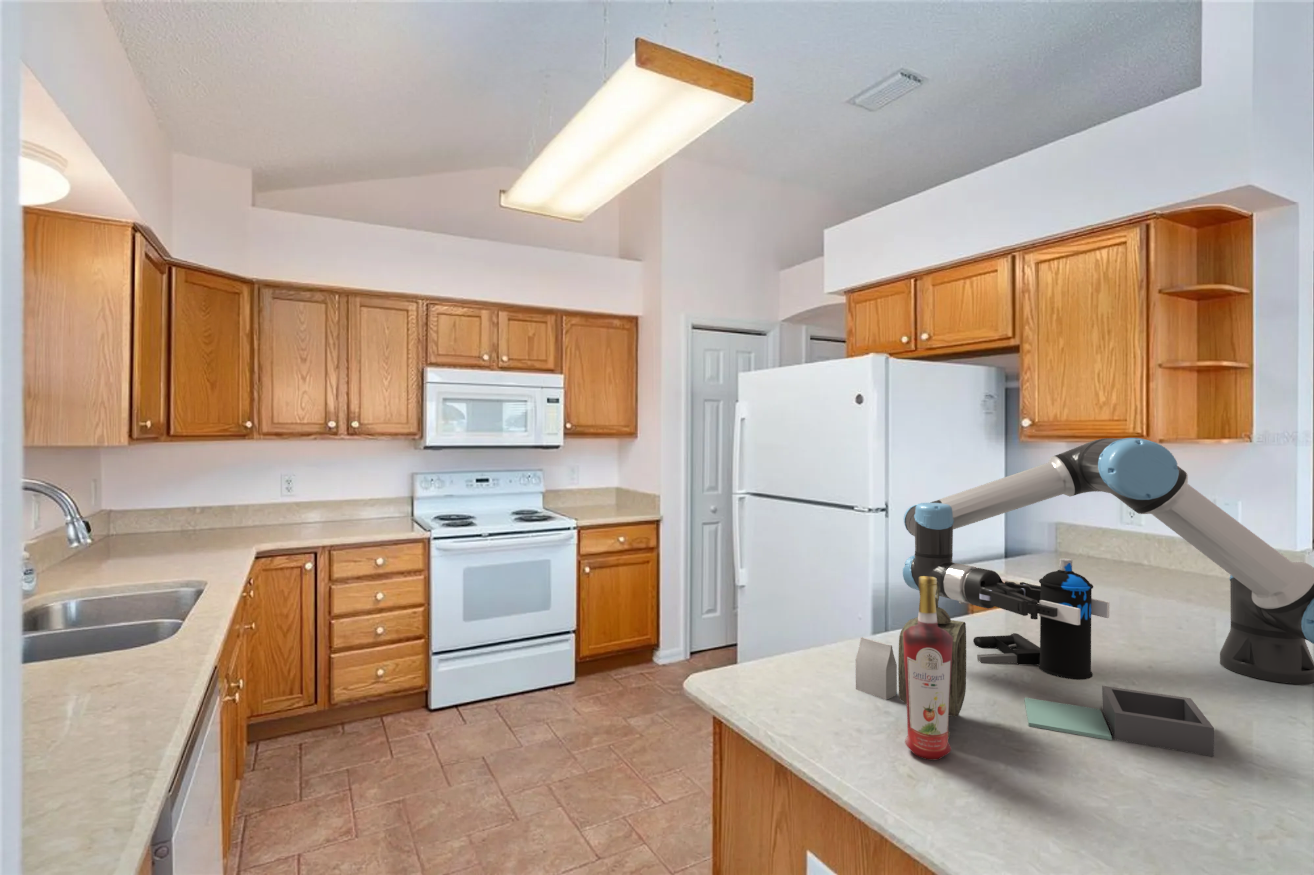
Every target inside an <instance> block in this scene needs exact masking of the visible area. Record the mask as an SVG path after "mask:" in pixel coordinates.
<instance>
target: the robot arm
mask: <svg viewBox="0 0 1314 875" xmlns="http://www.w3.org/2000/svg"><path fill="white" fill-rule="evenodd" d="M1188 480H1189V475H1188V472H1187V471H1185V470H1184V469H1183V468H1182V467H1180V466H1178V462H1177V459H1176V457H1175V456H1174V455H1173V453H1172V452H1171V451H1170V450H1169V449H1168V448H1166V447H1165V446H1163V445H1162V444H1159V443H1157V442H1155V441H1151V440H1148V439H1144V438H1140V437H1125V438H1109V437H1108V438H1106V437H1105V438H1098V439H1095V440H1092V441H1090V442H1086V443H1084V444H1081V445H1078V446H1077V447H1074V448H1071V449H1069V450H1067V451H1064V452H1061V453H1059V454H1056V455H1055V454H1054V455H1052V456H1050V458H1049V460H1048V462H1046V463H1043V464H1041V465H1037V466H1034V467H1031V468H1029V469H1025V470H1023V471H1020V472H1017V473H1014V474H1011V475H1007V476H1005V477H1002V478H999V479H996V480H993V481H990V482H986V483H984V484H981V485H978V486H975V487H972V488H969V489H966V490H963V491H960V492H957V493H954V494H951V495H948V496H946V497H942V498H939V499H937V500H934V501H931V502H921V503H917V504H914V505H911V506H909V508H907V509H906V511H905V512H904V514H903V524H904V526H905V529H906V531H907V532H908V534H910V535H911V536H912V537H914V555H911V556H910V557H909V556H908V558H907V559H906V560H905V562H904V566H903V568H902V577H903V580H904V583H905V584H906V585H907V586H908V587H910V588H911V589H913V590H915V591H919V577H920V576H930V577H935V578H937V581H938V583H939V597H942V598H947V599H950V600H953V601H958V603H959V604H960V605H964V603H965V604H969V605H972V606H975V607H980V608H983V609H988V610H989V609H992V608H994V607H995V608H998V609H1001V610H1004V611H1008V612H1011V613H1013V614H1014V613H1015V614H1016V615H1020V616H1022V617H1026V616H1029V615H1030V619H1031V620H1038V615H1039V617H1040V616H1042V617H1046V618H1050V619H1054V620H1058V621H1062V622H1066V623H1070V624H1074V625H1080V609H1079V608H1075V607H1071V606H1066V605H1062V604H1057V603H1053V602H1049V601H1044V600H1040V593H1041V585H1035V584H1031V583H1028V582H1025V581H1021V582H1019V583H1016V582H1014V581H1004V582H1003V579H1002V578H1001V576H1000V575H999V574H998V572H996V571H994V570H991V569H986V568H981V567H977V566H973V565H968V564H967V565H966V564H962V563H956V562H953V547H954V544H953V543H954V530H956V529H960V528H962V527H966V526H969V525H971V524H975V523H978V522H980V521H985V520H987V519H990V518H994V517H996V516H999V515H1003V514H1006V513H1009V512H1011V511H1015V510H1018V509H1021V508H1025V507H1027V506H1030V505H1034V504H1037V503H1040V502H1043V501H1046V500H1049V499H1052V498H1055V497H1058V496H1062V495H1065V496H1067V497H1075V496H1077V495H1080V494H1086V493H1091V492H1095V493H1096V492H1097V493H1098V492H1101V493H1102V492H1103V493H1108V494H1111V495H1112V496H1114V497H1116V499H1118V500H1120V502H1122V503H1124V504H1125V505H1126V506H1127V507H1129V509H1132V511H1134V513H1136V514H1140V515H1152V516H1153V517H1155V518H1156V519H1158V521H1160V522H1161V523H1163V524H1164V525H1165V526H1166V527H1167V528H1169V529H1170V530H1172V531H1173V532H1174V533H1176V534H1177V535H1178V536H1179V537H1181V538H1182V539H1183V540H1184V541H1186V542H1187V543H1188V544H1190V545H1191V546H1192V547H1194V548H1195V549H1197V551H1198V552H1200V553H1202V554H1203V555H1204V556H1205V557H1207V558H1208V559H1209V560H1210V561H1212V562H1213V563H1215V564H1216V565H1217V566H1218V567H1220V568H1222V570H1223V571H1225V572H1226V573H1228V574H1229V575H1230V576H1229V581H1230V588H1229V589H1230V591H1229V592H1230V628H1229V629H1230V630H1229V631H1228V632H1229V633H1228V634H1227V636H1226V639H1225V641H1224V643H1223V645H1222V648H1221V650H1220V652H1219V664H1220V666H1222V667H1224V668H1226V669H1227V670H1230V671H1231V672H1235V673H1237V674H1240V675H1243V676H1247V677H1251V678H1255V679H1259V680H1264V681H1269V682H1276V683H1282V684H1291V685H1292V684H1294V685H1298V684H1299V685H1303V684H1304V685H1305V684H1314V659H1313V656H1312V654H1311V651H1310V649H1309V647H1308V645H1307V641H1308V642H1309V643H1310V644H1313V645H1314V566H1312V565H1311V564H1309V563H1307V562H1304V561H1303V562H1302V561H1294V562H1293V561H1291V560H1290V559H1289V558H1287V557H1285V556H1284V555H1283V554H1282V553H1280V552H1279V551H1278V550H1276V549H1275V548H1274V547H1272V546H1271V545H1270V544H1268V543H1267V542H1266V541H1265V540H1263V539H1262V538H1260V537H1259V536H1258V535H1257V534H1256V533H1254V532H1253V531H1251V530H1250V529H1248V528H1247V527H1246V526H1244V525H1243V524H1242V523H1241V522H1239V521H1238V520H1237V519H1235V518H1234V517H1232V516H1231V515H1230V514H1228V513H1227V512H1226V511H1225V510H1223V509H1222V508H1221V507H1219V506H1218V505H1217V504H1216V503H1214V502H1213V501H1211V500H1210V499H1209V498H1207V497H1206V496H1204V495H1203V494H1202V493H1201V492H1199V491H1198V490H1197V489H1195V488H1194V487H1193V486H1191V485H1190V484H1189V481H1188ZM936 594H937V590H936ZM1091 616H1095V617H1096V616H1097V617H1100V618H1106V619H1110V601H1105V600H1101V599H1096V598H1092V597H1091Z"/></svg>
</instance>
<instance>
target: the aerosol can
mask: <svg viewBox="0 0 1314 875" xmlns="http://www.w3.org/2000/svg"><path fill="white" fill-rule="evenodd" d="M1058 564H1059V566H1058V568H1059V569H1057V570H1055V571H1051V572H1048V573H1046V574H1044V575H1043V577H1042V578H1039V579H1038V582H1039V584H1040V586H1041V593H1040V600H1044V601H1049V602H1053V603H1057V604H1062V605H1066V606H1071V607H1075V608H1079V609H1080V625H1074V624H1070V623H1066V622H1062V621H1058V620H1054V619H1050V618H1046V617H1042V616H1039V617H1040V618H1039V619H1040V621H1039V622H1040V623H1039V628H1040V630H1039V633H1040V634H1039V636H1040V638H1039V640H1040V641H1039V647H1040V663H1039V665H1037V666H1038V669H1039V670H1040V671H1042V672H1043V673H1046V674H1047V675H1050V676H1053V677H1057V678H1060V679H1066V680H1076V681H1077V680H1078V681H1079V680H1080V681H1082V680H1089V679H1090V678H1092V677H1093V675H1094V674H1093V671H1092V615H1091V598H1092V590H1093V589H1094V585H1093V584H1092V583H1090V580H1088V579H1087V578H1086V577H1085V576H1083V575H1081V574H1079V573H1077V572H1075V571H1073V560H1072V559H1071V558H1066V557H1065V558H1059V563H1058Z"/></svg>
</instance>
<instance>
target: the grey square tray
mask: <svg viewBox="0 0 1314 875" xmlns="http://www.w3.org/2000/svg"><path fill="white" fill-rule="evenodd" d="M1101 687H1102V688H1101V689H1102V692H1101V693H1102V698H1101V699H1102V700H1101V701H1102V703H1101V704H1102V707H1101V708H1102V710H1101V711H1102V712H1103V713H1102V714H1104V715H1103V716H1104V718H1105V719H1106V720H1105V721H1107V722H1106V723H1107V724H1108V728H1110V732H1111V734H1112V737H1113V739H1114V740H1116V741H1120V742H1126V743H1131V744H1137V745H1143V746H1144V745H1145V746H1151V747H1155V748H1161V749H1168V750H1172V749H1174V750H1173V751H1178V752H1184V753H1185V752H1186V753H1191V754H1196V753H1197V754H1196V755H1200V756H1201V755H1202V756H1208V757H1213V758H1214V757H1215V727H1214V726H1213V724H1212V723H1211V722H1210V721H1209V720H1208V718H1207V717H1206V716H1205V715H1204V713H1203V712H1202V711H1201V709H1199V707H1198V705H1196V703H1195V701H1193V699H1192V698H1191V697H1185V696H1177V695H1171V694H1163V693H1158V692H1157V693H1156V692H1149V691H1141V690H1138V689H1137V690H1135V689H1130V688H1129V689H1128V688H1123V687H1113V686H1109V685H1108V686H1107V685H1102V686H1101Z"/></svg>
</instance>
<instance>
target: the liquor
mask: <svg viewBox="0 0 1314 875" xmlns="http://www.w3.org/2000/svg"><path fill="white" fill-rule="evenodd" d="M936 590H937V578H935V577H930V576H920V577H919V590H918V592H919V604H918V614H917V615H918V616H917V617H918V625H915V626H911V627H909V628H908V629H907V630H905V631H904V632H903V641H904V665H905V680H906V698H907V704H906V718H907V719H906V720H907V721H906V722H907V723H906V724H907V726H906V727H907V736H906V737H905V739H904V744H905V746H906V747H907V748H908V749H909V750H910V751H911V752H912V753H913V754H914V756H916V757H918V758H921V759H924V760H928V761H937V760H940V759H942V758H944V757H945V756H947V755H948V754H949V753H951V751H952V747H951V745H950V743H949V738H948V730H949V722H950V721H949V720H950V717H949V716H950V715H949V698H950V683H951V668H952V644H953V637H952V636H951V635H950V634H949V633H948V632H947V631H945V630H944V629H942V628H939V627H938V623H937V613H936V602H935V597H936Z"/></svg>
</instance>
